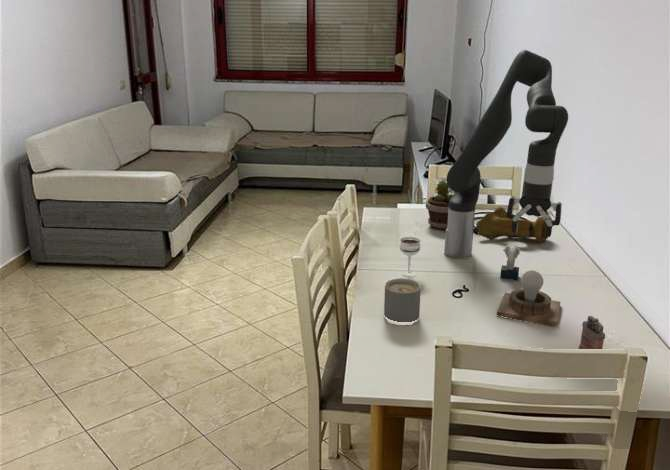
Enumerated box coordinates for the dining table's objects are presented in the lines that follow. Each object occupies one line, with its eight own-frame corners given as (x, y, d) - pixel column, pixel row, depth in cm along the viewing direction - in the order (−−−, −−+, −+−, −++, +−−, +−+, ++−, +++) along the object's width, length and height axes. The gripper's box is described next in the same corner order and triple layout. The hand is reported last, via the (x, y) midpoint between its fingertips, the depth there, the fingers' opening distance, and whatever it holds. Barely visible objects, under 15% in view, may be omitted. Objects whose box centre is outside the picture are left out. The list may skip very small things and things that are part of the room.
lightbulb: (541, 312, 168) (545, 276, 164) (518, 310, 169) (522, 274, 166) (538, 302, 174) (543, 268, 170) (517, 300, 175) (521, 266, 171)
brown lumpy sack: (575, 347, 153) (580, 312, 149) (588, 346, 153) (593, 311, 150) (590, 364, 145) (596, 327, 142) (604, 363, 145) (610, 327, 142)
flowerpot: (464, 232, 237) (468, 184, 230) (426, 232, 237) (428, 184, 230) (458, 221, 251) (461, 175, 244) (421, 221, 251) (424, 175, 244)
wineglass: (423, 274, 198) (424, 240, 194) (410, 280, 193) (412, 245, 189) (406, 268, 202) (408, 235, 198) (394, 274, 197) (395, 240, 193)
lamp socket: (496, 316, 169) (497, 302, 167) (504, 296, 181) (505, 283, 179) (555, 327, 163) (557, 312, 161) (559, 306, 175) (561, 292, 173)
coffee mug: (418, 327, 163) (420, 294, 160) (382, 324, 164) (383, 291, 161) (419, 305, 175) (421, 274, 172) (386, 303, 177) (387, 272, 174)
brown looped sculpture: (497, 208, 243) (551, 209, 229) (495, 240, 243) (549, 243, 228) (477, 204, 228) (533, 205, 214) (474, 238, 228) (530, 241, 214)
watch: (518, 273, 198) (522, 242, 194) (517, 283, 191) (520, 251, 187) (501, 271, 200) (504, 240, 196) (499, 280, 192) (502, 249, 189)
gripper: (509, 179, 161) (502, 235, 166) (564, 186, 155) (555, 244, 161) (513, 173, 167) (507, 227, 173) (567, 179, 162) (558, 235, 167)
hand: (530, 235), depth 167 cm, fingers open, 8 cm apart
